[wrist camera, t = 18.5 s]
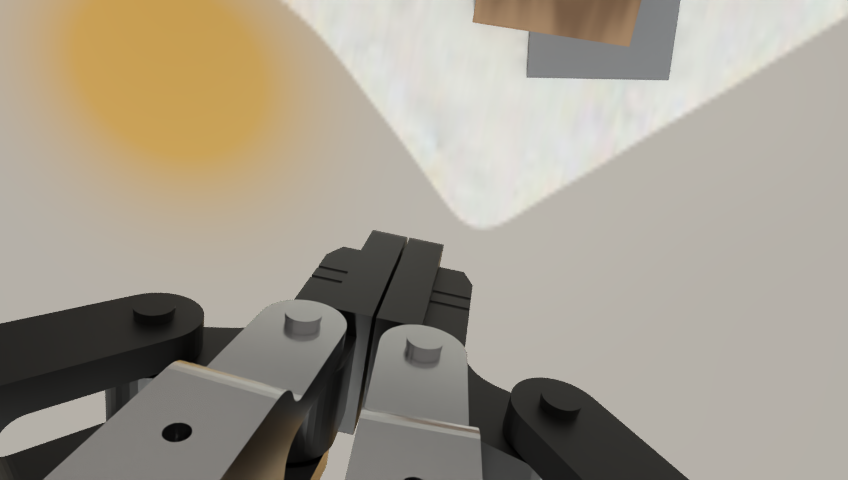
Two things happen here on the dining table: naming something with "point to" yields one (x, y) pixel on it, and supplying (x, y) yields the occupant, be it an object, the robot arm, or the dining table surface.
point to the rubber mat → (611, 50)
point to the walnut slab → (564, 17)
